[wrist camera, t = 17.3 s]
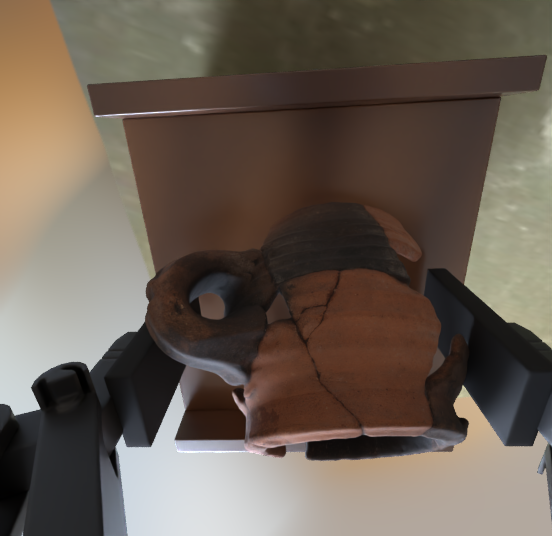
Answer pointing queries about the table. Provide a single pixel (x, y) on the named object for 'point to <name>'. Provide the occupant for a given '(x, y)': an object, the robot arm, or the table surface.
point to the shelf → (308, 173)
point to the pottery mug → (319, 337)
